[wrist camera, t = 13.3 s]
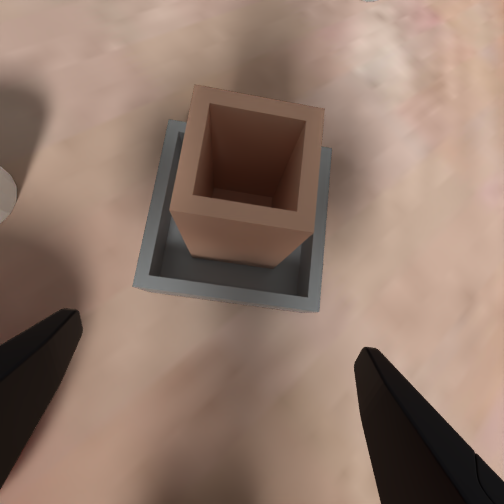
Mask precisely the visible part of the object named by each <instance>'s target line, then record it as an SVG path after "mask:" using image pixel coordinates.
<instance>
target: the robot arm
mask: <svg viewBox="0 0 504 504" xmlns="http://www.w3.org/2000/svg"><path fill="white" fill-rule="evenodd" d="M82 331H83V327H82V322H81V318H80V313H79V311H78V310H76V309H68V308H64V309H61V310H59V311H58V312H56V313H54V314H52V315H51V316H49V317H47V318H46V319H44V320H42V321H41V322H39V323H37V324H36V325H34V326H32V327H30V328H29V329H27V330H25V331H24V332H22V333H20V334H19V335H17V336H15V337H14V338H12V339H10V340H8V341H7V342H5V343H3V344H2V345H0V489H1V487H2V485H3V484H4V482H5V480H6V478H7V477H8V475H9V473H10V471H11V470H12V468H13V466H14V464H15V463H16V461H17V459H18V457H19V456H20V454H21V452H22V450H23V449H24V447H25V445H26V443H27V442H28V440H29V438H30V436H31V435H32V433H33V431H34V429H35V427H36V426H37V424H38V422H39V420H40V419H41V417H42V415H43V413H44V412H45V410H46V408H47V406H48V405H49V403H50V401H51V399H52V398H53V396H54V394H55V392H56V391H57V389H58V387H59V385H60V383H61V381H62V379H63V377H64V375H65V372H66V370H67V368H68V365H69V363H70V361H71V358H72V356H73V354H74V352H75V349H76V347H77V345H78V342H79V340H80V338H81V335H82ZM354 372H355V380H356V387H357V395H358V403H359V410H360V416H361V421H362V426H363V430H364V434H365V438H366V442H367V447H368V451H369V455H370V459H371V463H372V468H373V472H374V476H375V480H376V484H377V489H378V493H379V497H380V501H381V504H504V481H503V480H502V479H501V478H500V477H499V476H498V475H497V474H496V473H495V472H494V471H493V470H492V469H491V468H490V467H489V466H488V465H487V464H486V463H485V462H484V461H483V459H482V458H481V457H480V456H479V455H478V454H475V452H474V450H473V449H472V448H471V447H470V446H469V445H468V444H467V443H466V442H465V441H464V440H463V438H462V437H461V436H460V435H459V434H458V433H457V432H456V431H455V430H454V429H453V428H452V427H451V426H450V425H449V424H448V423H447V422H446V420H445V419H444V418H443V417H442V416H441V415H440V414H439V413H438V412H437V411H436V410H435V409H434V408H433V407H432V406H431V405H430V404H429V403H428V401H427V400H426V399H425V398H424V397H423V396H422V395H421V394H420V393H419V392H418V391H417V390H416V389H415V388H414V387H413V386H412V385H411V384H410V382H409V381H408V380H407V379H406V378H405V377H404V376H403V375H402V374H401V373H400V372H399V371H398V370H397V369H396V368H395V367H394V366H393V365H392V363H391V362H390V361H389V360H388V359H387V358H386V357H385V356H384V355H383V354H382V353H381V352H380V351H379V350H378V349H376V348H372V347H364V348H363V349H362V350H361V352H360V354H359V356H358V358H357V359H356V361H355V364H354Z"/></svg>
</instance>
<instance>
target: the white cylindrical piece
mask: <svg viewBox="0 0 504 504" xmlns="http://www.w3.org/2000/svg"><path fill="white" fill-rule="evenodd" d="M16 201H17V187H16V184H15V182H14V180H13V178H12V176H11V175H10V174H9V173H8V172H7V171H5V170H4V169H3V168H2V167H1V166H0V224H1V223H2V222H3V221H4V220H5V219H6V218H7V217H8V216H9V215H10V214H11V212H12V210H13V208H14V205H15V203H16Z"/></svg>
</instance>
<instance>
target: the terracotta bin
mask: <svg viewBox="0 0 504 504" xmlns="http://www.w3.org/2000/svg"><path fill="white" fill-rule="evenodd" d="M324 111H325V109H323V108H318V107H312V106H307V105H302V104H296V103H291V102H286V101H280V100H275V99H270V98H265V97H259V96H254V95H249V94H243V93H238V92H233V91H227V90H222V89H217V88H211V87H206V86H201V85H194V90H193V95H192V100H191V104H190V109H189V114H188V119H187V124H186V129H185V134H184V139H183V144H182V149H181V154H180V159H179V164H178V169H177V174H176V179H175V184H174V189H173V193H172V198H171V203H170V208H169V211H170V213H171V215H172V217H173V219H174V221H175V223H176V225H177V227H178V229H179V231H180V233H181V236H182V238H183V240H184V242H185V244H186V246H187V248H188V250H189V252H190V254H191V256H192V257H193V258H200V259H206V260H213V261H220V262H227V263H234V264H241V265H248V266H254V267H261V268H268V269H274V268H275V267H276V266H277V265H278V264H279V263H281V262H282V261H283V260H284V259H285V258H286V257H287V256H288V255H290V254H291V253H292V252H293V251H294V250H295V249H296V248H297V247H298V246H300V245H301V244H302V243H303V242H304V241H305V240H306V239H307V238H309V237H310V236H311V235H312V234H313V233H314V226H315V215H316V203H317V192H318V180H319V169H320V157H321V145H322V134H323V122H324Z"/></svg>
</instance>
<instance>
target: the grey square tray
mask: <svg viewBox="0 0 504 504" xmlns="http://www.w3.org/2000/svg"><path fill="white" fill-rule="evenodd" d="M186 124H187V122H182V121H176V120H170V119H169V121H168V126H167V130H166V135H165V139H164V144H163V149H162V153H161V158H160V162H159V167H158V172H157V176H156V181H155V185H154V190H153V194H152V199H151V204H150V208H149V213H148V217H147V222H146V227H145V231H144V236H143V240H142V245H141V249H140V254H139V259H138V263H137V268H136V272H135V277H134V282H133V286H132V287H135V288H138V289H141V290H144V291H147V292H154V293H161V294H168V295H176V296H183V297H190V298H198V299H205V300H212V301H220V302H227V303H235V304H242V305H249V306H257V307H264V308H271V309H279V310H286V311H293V312H301V313H308V312H319V308H320V295H321V282H322V269H323V256H324V244H325V231H326V218H327V205H328V192H329V179H330V166H331V154H332V148H328V147H322V146H321V157H320V169H319V180H318V192H317V203H316V215H315V226H314V233H313V234H312V235H311V236H310V237H309V238H307V239H306V240H305V241H304V242H303V243H302V244H301V245H300V246H298V247H297V248H296V249H295V250H294V251H293V252H292V253H291V254H290V255H288V256H287V257H286V258H285V259H284V260H283V261H282V262H281V263H279V264H278V265H277V266H276V267H275V268H274V269H268V268H261V267H254V266H248V265H241V264H234V263H227V262H220V261H213V260H206V259H200V258H193V257H192V256H191V254H190V252H189V250H188V248H187V246H186V244H185V242H184V240H183V238H182V236H181V233H180V231H179V229H178V227H177V225H176V223H175V221H174V219H173V217H172V215H171V213H170V211H169V208H170V203H171V198H172V193H173V189H174V184H175V179H176V174H177V169H178V164H179V159H180V154H181V149H182V144H183V139H184V134H185V129H186Z"/></svg>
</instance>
